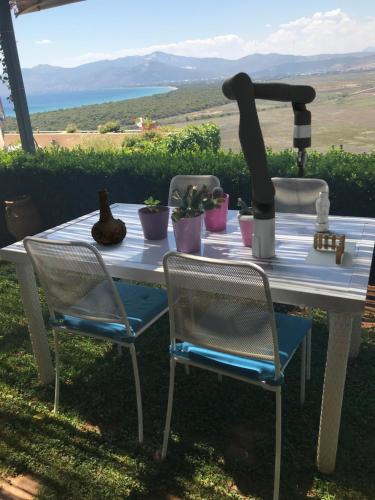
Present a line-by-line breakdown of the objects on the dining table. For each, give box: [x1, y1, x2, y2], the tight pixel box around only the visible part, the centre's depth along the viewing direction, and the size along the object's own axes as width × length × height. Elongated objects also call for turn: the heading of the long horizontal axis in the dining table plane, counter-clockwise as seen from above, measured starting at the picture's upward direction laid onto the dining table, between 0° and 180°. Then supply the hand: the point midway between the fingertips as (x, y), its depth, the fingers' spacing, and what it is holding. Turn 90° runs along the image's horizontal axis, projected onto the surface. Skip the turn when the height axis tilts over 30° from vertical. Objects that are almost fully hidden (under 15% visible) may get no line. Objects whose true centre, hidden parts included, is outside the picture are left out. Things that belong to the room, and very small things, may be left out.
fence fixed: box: [335, 234, 346, 264], centre depth 170 cm, size 14×2×8 cm, turn 155°
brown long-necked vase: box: [90, 188, 128, 247], centre depth 208 cm, size 18×18×28 cm
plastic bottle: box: [314, 191, 331, 233], centre depth 202 cm, size 6×7×20 cm
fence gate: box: [312, 232, 346, 250], centre depth 179 cm, size 13×2×7 cm, turn 67°
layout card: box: [303, 239, 357, 269], centre depth 178 cm, size 31×18×1 cm, turn 155°
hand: (301, 176), depth 183 cm, fingers closed
